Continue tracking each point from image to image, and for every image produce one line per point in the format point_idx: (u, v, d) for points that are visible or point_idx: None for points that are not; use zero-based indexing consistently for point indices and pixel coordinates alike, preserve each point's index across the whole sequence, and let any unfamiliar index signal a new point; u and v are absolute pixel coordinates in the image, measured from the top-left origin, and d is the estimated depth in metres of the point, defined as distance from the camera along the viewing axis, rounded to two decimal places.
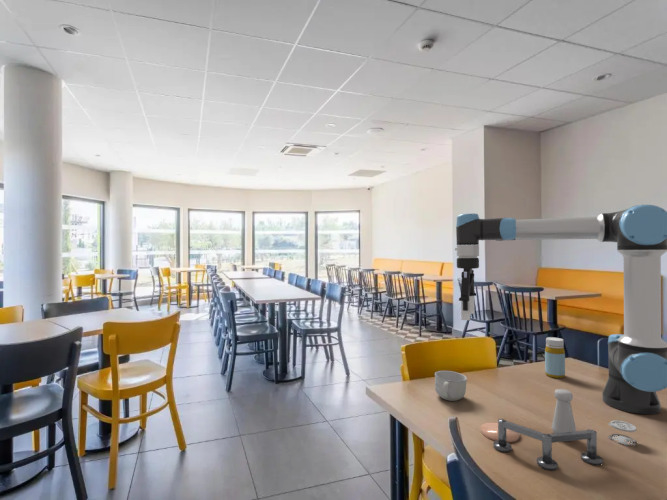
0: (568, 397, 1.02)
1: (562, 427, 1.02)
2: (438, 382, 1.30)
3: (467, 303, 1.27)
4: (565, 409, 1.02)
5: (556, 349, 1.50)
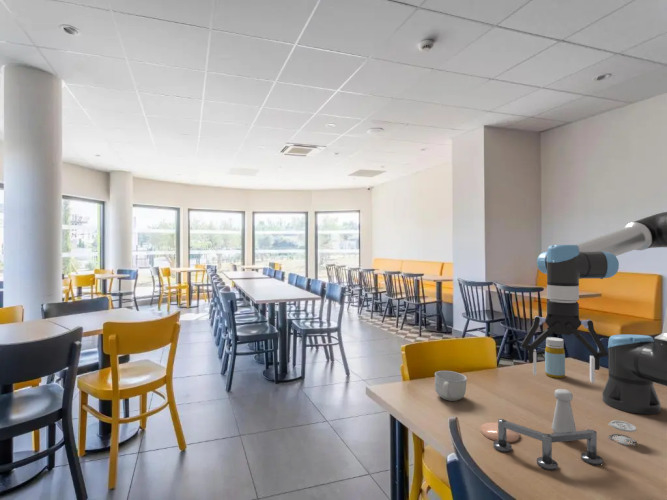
0: (568, 397, 1.02)
1: (562, 427, 1.02)
2: (438, 382, 1.30)
3: (530, 353, 1.06)
4: (565, 409, 1.02)
5: (556, 349, 1.50)
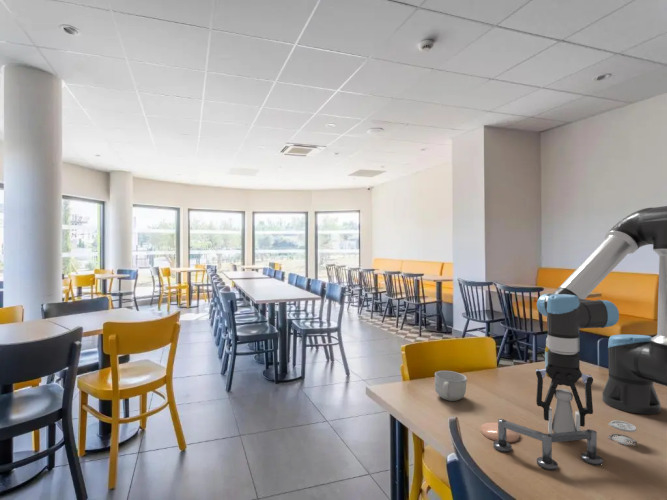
0: (568, 397, 1.02)
1: (562, 427, 1.02)
2: (438, 382, 1.30)
3: (546, 411, 1.05)
4: (565, 409, 1.02)
5: None
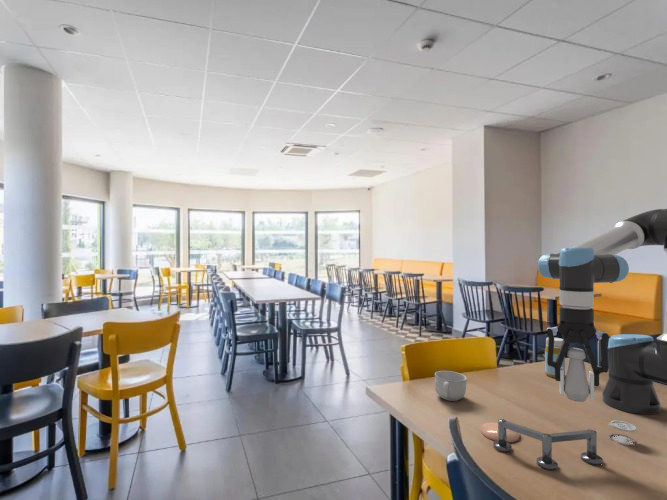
0: (581, 355, 0.96)
1: (574, 387, 0.96)
2: (438, 382, 1.30)
3: (557, 371, 0.99)
4: (577, 368, 0.96)
5: (556, 349, 1.50)
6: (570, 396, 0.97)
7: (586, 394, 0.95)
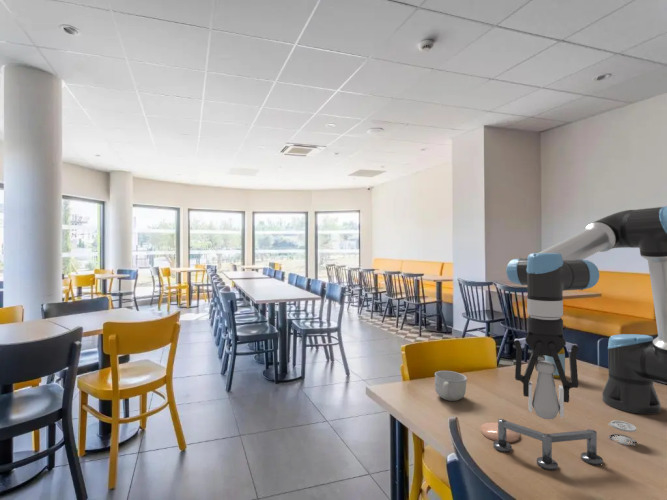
0: (550, 369, 0.89)
1: (543, 404, 0.89)
2: (438, 382, 1.30)
3: (525, 386, 0.92)
4: (546, 383, 0.89)
5: None
6: (539, 413, 0.90)
7: (555, 411, 0.88)
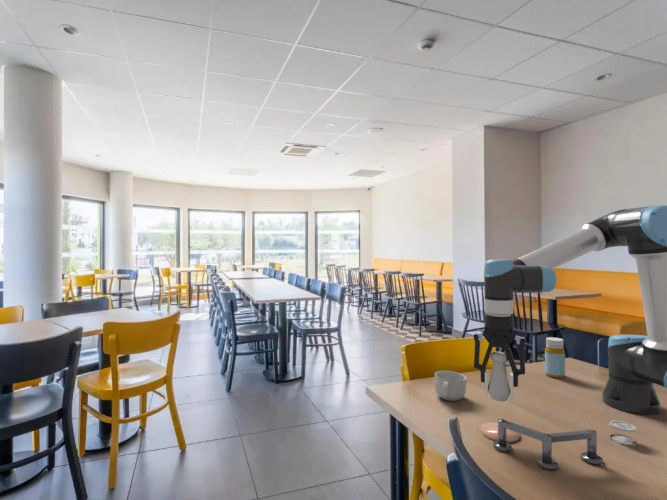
0: (502, 358, 1.04)
1: (496, 388, 1.04)
2: (438, 382, 1.30)
3: (482, 373, 1.08)
4: (499, 370, 1.05)
5: (556, 349, 1.50)
6: (493, 396, 1.05)
7: (506, 394, 1.04)
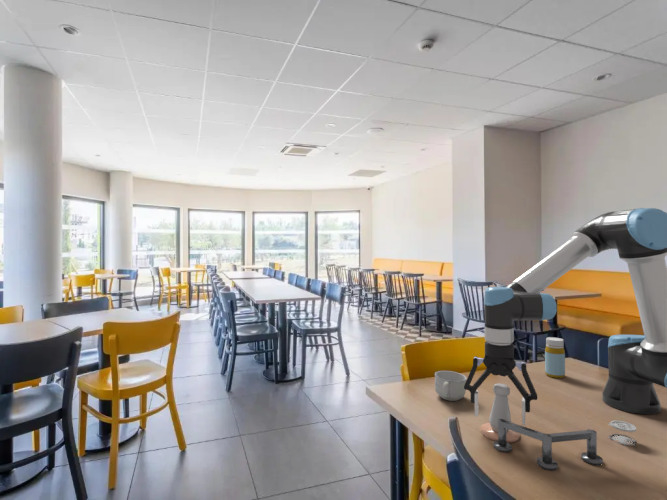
0: (504, 392, 1.04)
1: (497, 421, 1.04)
2: (438, 382, 1.30)
3: (472, 395, 1.09)
4: (501, 403, 1.04)
5: (556, 349, 1.50)
6: (494, 428, 1.05)
7: None
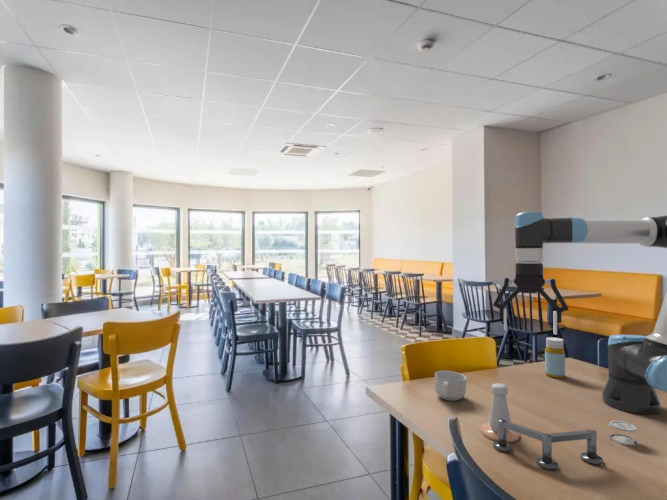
0: (502, 391, 1.04)
1: (497, 421, 1.04)
2: (438, 382, 1.30)
3: (501, 311, 1.18)
4: (499, 403, 1.05)
5: (556, 349, 1.50)
6: (493, 428, 1.05)
7: None
